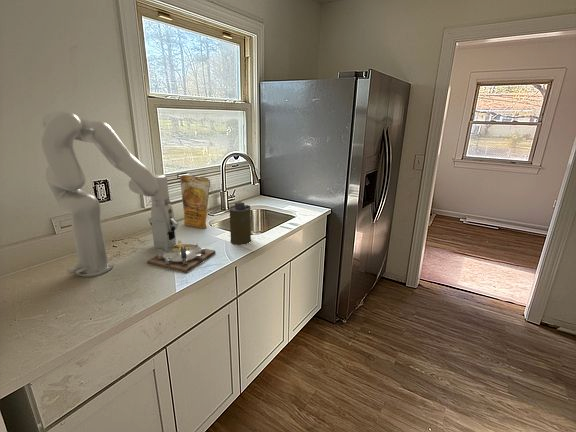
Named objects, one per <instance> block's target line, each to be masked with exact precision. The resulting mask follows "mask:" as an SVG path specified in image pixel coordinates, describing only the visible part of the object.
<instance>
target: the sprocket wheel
mask: <svg viewBox="0 0 576 432" xmlns="http://www.w3.org/2000/svg"><path fill="white" fill-rule="evenodd" d="M205 249H206V248H205V247H201V246H199V245H198V243H195V242H193V243H192V244H191V243H190V244H189V243H182V242H181V243H179V244H178V243H177V244H175V245H173V246H171V247H169V248H168V247H165V248H163V249H162V251H163V252H161V253H162V254H161V253H158V254H157V255H158V257H159V259H164V260H165V264H170V263H183V264H188V263H187V262H189V261H193V260H195V259H201V258H202V253H203V252H205Z"/></svg>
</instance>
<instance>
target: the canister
mask: <svg viewBox="0 0 576 432" xmlns="http://www.w3.org/2000/svg"><path fill="white" fill-rule="evenodd" d="M251 209H252V208H251V205H248V204H245V203H244V202H243V201H238V202H235V203H234V205H231V206H229V207H228V210H229V225H230V226H229V228H230V232H229V233H230V241H229V242H230V243H231V244H233V245H235V244H237V245H236V246H242V245H241V244H245V245H248V244H250V243H251V242H252V236H251V235H252V232H251V231H252V230H251V229H252V228H251V227H252V225H251V222H252V221H251ZM249 242H250V243H249ZM247 243H248V244H247Z"/></svg>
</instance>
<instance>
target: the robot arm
mask: <svg viewBox="0 0 576 432" xmlns="http://www.w3.org/2000/svg"><path fill="white" fill-rule="evenodd" d="M41 124H42V127H43V129H44V131H43V133H42V137H41V148H42V152H43V154H44V157H45V159H46V162H47V164H48V167H47V168H46V170H45V180H46V182H47V185H48V186H49V189H50V191H51V193H52V195H53V197H54V198H55V201H56V202H57V204H58V206H59V208H61V209H62V210H63V211H64V212H66V213H68V214H70V215H71V216H70V217H71V230H72V235H73V239H74V244H75V249H76V253H77V259H78V262H76V263H75V264H76V265H75V266H74V267H72V268H69V269H67V270H66V273H67V275H69V276H70V275H72V274H74V273H75V275H77V276H78V277H85V278H87V277H95V276H100V275H103V274H106V273H107V272H109V271H111V270H112V269H113V267H114V263H113V261H111V260H108V254H107V249H106V242H105V237H104V231H103V227H102V226H103V225H102V219H101V215H102V213H101V209H102V207H101V204H100V201H99V200H98V198H97V197H96V196H95V195H93V194H91V193H89V192H88V191H84V190H83V187H84V186H85V184H86V180H87V179H86V176H85V173H84V171H83V169H82V167H81V164H80V161H79V160H78V158H77V156H76V152H75V149H74V140H75V141H79V142H84V143H90V144H94V146H96V148H97V149H98V151H100V153H101V154H102V155H103V156H104V158H105V159H106V160H107V161H108V162H109V164H110V165H111V166H113V167H114V168H115V169H117V170H118V171H119V172H122V173H124V174H125V175H126V176H128V177H129V178H130V180H129V181H128V188H129V191H131V192H132V193H135V194H137V195H142V196H145V197H150V198H151V199H150V200H151V206H150V207H151V208H150V211H151V212H150V213H151V214H150V215H151V217H150V218H148V219H147V220H148V222H149V224H150V226H151V227H152V222H154V221H156V222H162V223H166V224H167V227H168V230H169V232H168V233H169V240H172V239H174V238H175V237H176V232H175V233H174V230H175V231H176V229H177V228H178V226H179V223H178V222H177V221H176V218H175V214H174V209H173V206H172V204H171V202H172V201H170V196H169V186H168V184H169V183H168V178H167V176H166V175H165V174H153V173H152V172H151V171H150V170H149V169H148V168H147V166H145V165H144V164H143V163H142V162H141V161H140V160H139V159H138V158H137V157H136V156H134V155H133V154H132V153H131V152H130V150H129V149H128V147H127V146H126V145H125V144H124V143H123V141H122V140H121V138H120V136H119V135H118V134H117V133H116V132H115V130H114V129H113V128H112V126H111V125H110V124H109V123H107V122H105V121H102V120H91V119H90V120H89V119H84V118H81V117H79V116H78V115H77V114H75V113H73V112H71V111H67V110H51V111H50V110H49V111H48V112H46V113H45V114H44V115H43V116H42V119H41ZM170 222H171V225H169V224H170ZM173 225H174V226H173ZM170 226H171V228H170Z"/></svg>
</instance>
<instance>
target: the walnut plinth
mask: <svg viewBox="0 0 576 432" xmlns="http://www.w3.org/2000/svg"><path fill="white" fill-rule="evenodd" d="M177 242H178V243H177V245H178V244H179V243H182V240H178V241H177ZM162 253H163V252H161V253H160V254H162ZM215 254H217V253H216V250H213V249H209V248H205V252H203V253H202V258H201V259H195V260H193V261H189V262H187V263H188V264H183V263H170V264H165V260H164V259H159V257H158V254H157V255H155V256H153V257H151V258H149V259H147V261H146V263H147V265H150V266H155V267H160V268H163V269H168V270H172V271H176V272H181V273H184V274H188V273H189V272H191V271H192V270H193V269H195V268H196V267H198V266H199V265H201V264H202V263H204V262H205V261H207V260H208V259H210V258H211V257H213V256H214V255H215ZM203 261H204V262H203Z"/></svg>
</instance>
